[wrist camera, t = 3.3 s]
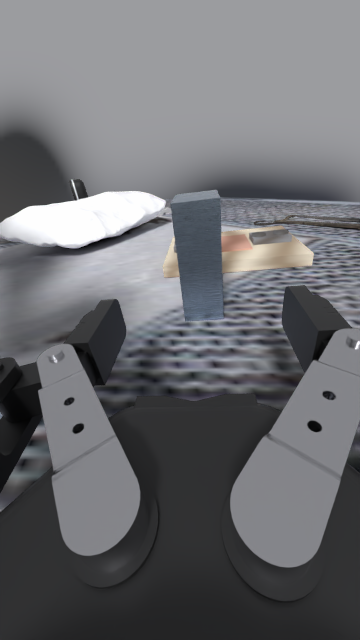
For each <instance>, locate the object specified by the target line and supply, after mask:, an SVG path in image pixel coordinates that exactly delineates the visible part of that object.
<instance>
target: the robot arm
mask: <svg viewBox="0 0 360 640" xmlns="http://www.w3.org/2000/svg"><path fill="white" fill-rule="evenodd" d="M282 325H283V329H284V331H285V333H286V335H287V337H288V339H289V341H290V343H291V345H292V348H293V350H294V352H295V354H296V356H297V358H298V360H299V362H300V364H301V366H302V368H303V370H304V372H305V375H304V376H303V378H302V380H301V381H300V383H299V384H298V386H297V388H296V389H295V391H294V393H293V394H292V396H291V398H290V399H289V401H288V403H287V404H286V406H285V408H284V409H283V411H282V412H281V411H279V410H277V409H275V408H272V407H270V406H267V405H263V404H259V403H257V400H256V396H255V394H224V395H220V396H216V397H211V398H207V399H203V400H199V401H188V400H183V399H178V398H173V397H168V396H137V399H136V402H135V406H132V407H129V408H126V409H124V410H121V411H119V412H117V413H116V414H114V415H112V416H111V417H109V418H107V416H106V414H105V412H104V410H103V407H102V405H101V403H100V401H99V399H98V397H97V395H96V393H95V391H94V389H93V388H94V386H95V385H105V384H106V382H107V379H108V377H109V375H110V372H111V370H112V367H113V365H114V363H115V360H116V358H117V356H118V353H119V351H120V349H121V346H122V344H123V342H124V339H125V337H126V326H125V322H124V319H123V315H122V312H121V308H120V305H119V302H118V300H117V299H112V300H101V301H100V302H99V304H98V305H97V307H96V308H95V309H94V310H93V311H91V312H89V313H88V314H86V315H85V316H84V317H83V318H82V320H81V321H80V322H79V324H78V325H77V326H76V328H75V329H74V330H73V332H72V333H71V334H70V336H69V337H68V338H67V340H66V341H65V342H64V344H60V345H56V346H53V347H51V348H49V349H47V350H45V351H44V352H43V353H41V354H40V356H39V357H38V359H37V362H35V363H31V364H27V365H23V366H20V367H19V366H18V364H17V362H16V361H15V359H13V358H2V359H0V412H1V414H2V415H3V417H2V418H1V419H0V493H1V491H2V489H3V487H4V485H5V484H6V482H7V480H8V478H9V476H10V475H11V473H12V471H13V469H14V467H15V466H16V464H17V462H18V460H19V458H20V456H21V455H22V453H23V451H24V449H25V447H26V446H27V444H28V442H29V440H30V438H31V437H32V435H33V433H34V431H35V429H36V427H37V426H38V424H39V422H40V420H41V418H42V417H43V419H44V424H45V429H46V434H47V439H48V444H49V449H50V454H51V459H52V464H53V467H52V468H50V469H49V470H48V471H47V472H46V473H45V474H44V475H42V476H41V477H40V478H39V479H38V480H37V481H36V482H34V483H33V484H32V485H31V486H30V487H29V488H28V489H26V490H25V491H24V492H23V493H22V494H21V495H20V496H18V497H17V498H16V499H15V500H14V501H13V502H12V503H10V504H9V505H8V506H7V507H6V508H5V509H4V510H2V511H1V512H0V640H360V473H359V472H358V471H357V470H355V469H354V468H353V467H352V466H351V465H349V464H348V463H347V462H346V460H347V457H348V454H349V451H350V448H351V445H352V442H353V439H354V436H355V433H356V430H357V427H358V424H359V421H360V330H358V329H353V328H352V327H351V326H350V325H349V324H348V323H347V322H346V320H345V319H344V318H343V317H342V316H341V315H340V314H339V313H338V311H337V310H336V309H335V308H333V306H332V305H331V304H330V302H329V301H328V300H326V299H324V298H322V297H320V296H319V295H312V293H311V292H310V291H309V290H308V288H307V287H306V286H305V285H301V286H288V287H286V289H285V293H284V302H283V311H282Z"/></svg>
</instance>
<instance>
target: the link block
mask: <svg viewBox="0 0 360 640" xmlns="http://www.w3.org/2000/svg"><path fill="white" fill-rule="evenodd" d="M170 205H171V212H172V220H173V228H174V236H175V244H176V252H177V260H178V268H179V275H180V283H181V291H182V299H183V307H184V315H185V321H195V320H212V319H224V314H223V279H222V243H221V207H220V196H219V194H218V192H217V190H210V191H202V192H194V193H186V194H178V195H176V196H175V197H174V199H173V200H172V202H171V203H170Z"/></svg>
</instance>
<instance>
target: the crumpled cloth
mask: <svg viewBox="0 0 360 640" xmlns="http://www.w3.org/2000/svg"><path fill="white" fill-rule="evenodd" d="M165 205H166V201H165V200H163V199H161V198H158V197H156V196H154V195H152V194H148V193H145V192H139V191H127V192H104V193H102V194H98V195H95V196H92V197H89V198H83V199H79V200H77V201H69V202H64V203H59V204H58V203H57V204H50V205H46V206H43V205H41V206H30V207H27V208H25V209H23V210H22V211H20V212H19V213H17V214H15V215H13V216H11V217H8V218H7V219H5V220H4V221H3V222H1V223H0V238H4V239H7V240H9V241H14V242H21V243H24V244H32V245H36V246H43V247H54V246H61V247H65V248H80V247H82V246H85V245H88V244H89V243H92V242H94V241H98V240H100V239H104V238H109V237H115V236H120V235H122V233H124V232H126V231H128V230H130V229H131V228H135V227H138V226H140V225H141V224H143V223H146V222H148V221H149V220H151V219H154V218H155V217H156V215H158V214H159V213H160V212H161V211H162V210H163V209H164V208H165Z"/></svg>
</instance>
